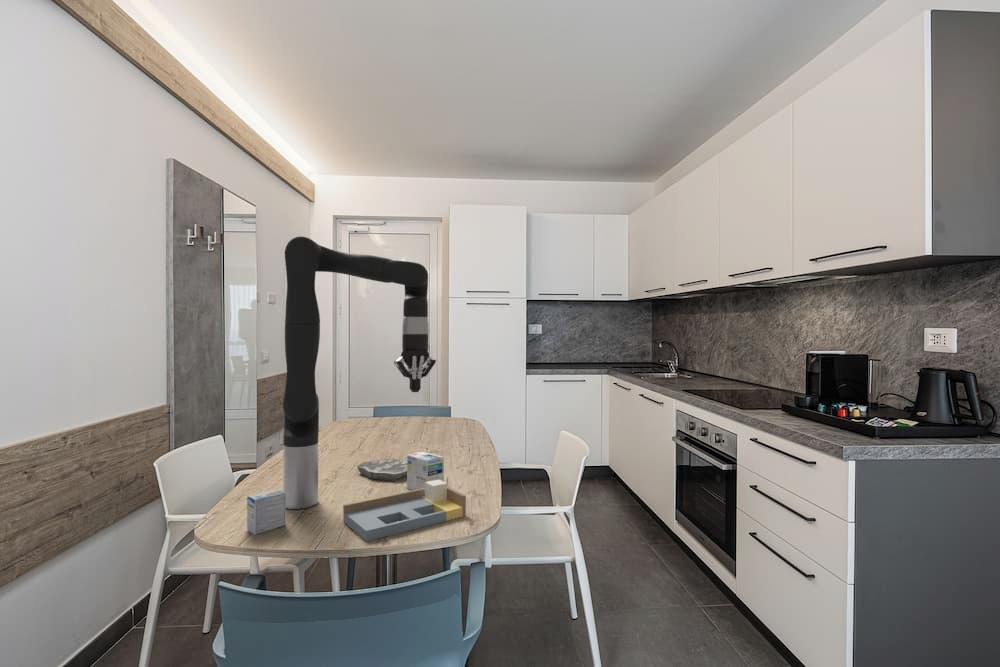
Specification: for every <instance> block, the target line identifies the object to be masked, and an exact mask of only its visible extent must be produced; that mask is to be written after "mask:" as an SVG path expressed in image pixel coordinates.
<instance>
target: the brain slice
mask: <svg viewBox="0 0 1000 667" xmlns="http://www.w3.org/2000/svg"><path fill="white" fill-rule="evenodd" d="M356 468H357V470H358V471H359V472H360V474H361V475H362V474H363V476H365V475H366V476H365V477H367V476H368V477H367V478H369V477H370V479H373V478H374V480H377V479H379V480H378V481H388V480H389V481H390V480H394V481H398V480H399V479H402V477H403V478H407V477H406V476H407V460H401V459H397V458H392V459H387V458H386V459H379V460H373V461H365V462H363V463H360V464H358V465H357V466H356ZM382 479H383V480H382ZM397 479H398V480H397Z"/></svg>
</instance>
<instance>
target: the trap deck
mask: <svg viewBox="0 0 1000 667" xmlns="http://www.w3.org/2000/svg"><path fill="white" fill-rule="evenodd" d="M466 496H467V495H466V494H464V493H461V492H460V491H458V490H455V489H454V488H451V487H449V486H447V499H446V500H441V501H437V502H431V501H429V500H428V499H426V498H425V488H421V489H417V490H412V489H411V490H407V491H403V492H398V493H393V494H388V495H383V496H379V497H378V496H377V497H373V498H369V499H368V498H367V499H364V500H358V501H354V502H349V503H345V504H343V511H342V512H343V514H342V515H343V517H342V521H344V522H345V523H346V524H347V525H346V524H345V523H344V522H343V523H344V524H345V525H346V526H348V527H349V529H351V528H352V529H353V530H354V531H353V530H352V529H351V530H352V531H353V532H355V534H357V535H358V536H359V537H360V536H361V537H360V538H361V539H363V540H364V541H365V542H369V540H370V541H374V540H377V539H382V538H386V537H390V536H393V535H396V533H397V534H401V533H404V532H405V533H406V532H408V531H413V530H416V528H417V529H419V528H420V527H421V528H423V526H424V527H428V526H432V525H437V524H439V523H443V522H444V523H445V522H448V521H451V519H452V520H455V518H456V519H458V517H460V518H464V517H466V512H467V511H466V510H467V507H466V506H467V505H466V503H467V500H466V498H467V497H466ZM397 521H398V522H397ZM431 524H432V525H431ZM427 525H428V526H427ZM421 528H420V529H421ZM412 529H413V530H412ZM400 532H401V533H400ZM392 534H393V535H392ZM385 536H386V537H385Z"/></svg>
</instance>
